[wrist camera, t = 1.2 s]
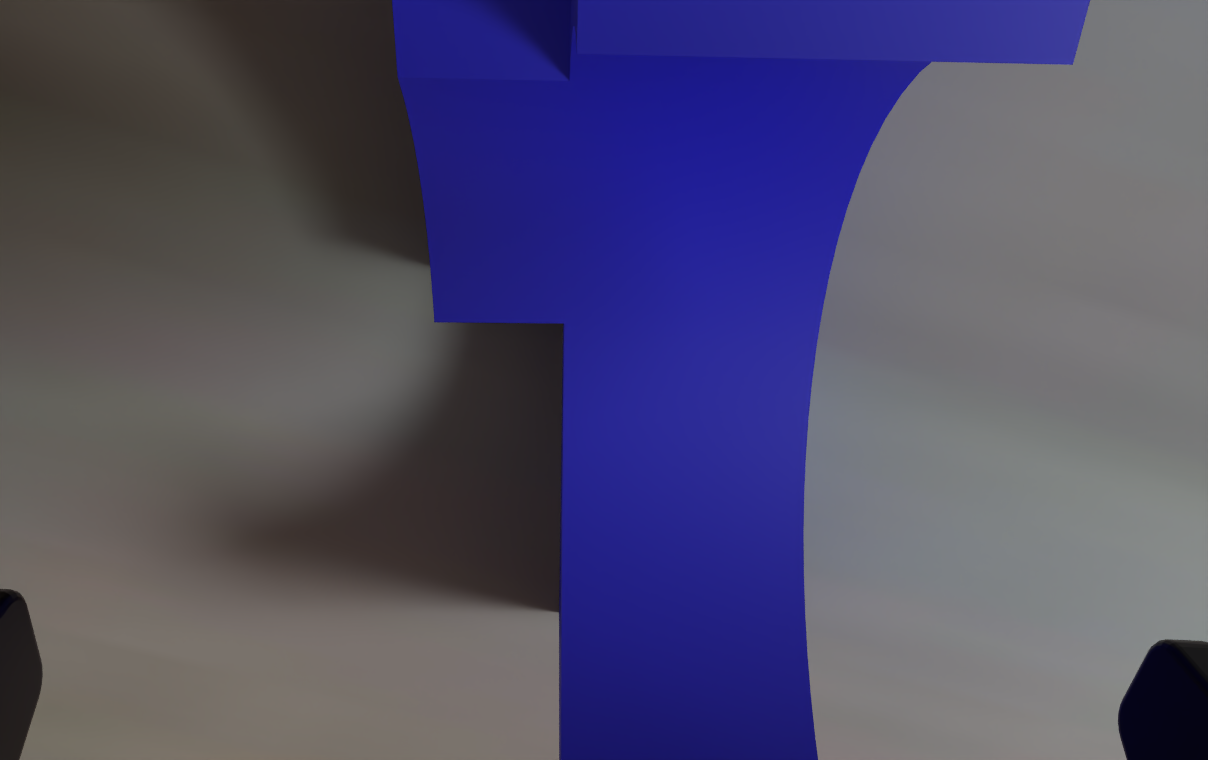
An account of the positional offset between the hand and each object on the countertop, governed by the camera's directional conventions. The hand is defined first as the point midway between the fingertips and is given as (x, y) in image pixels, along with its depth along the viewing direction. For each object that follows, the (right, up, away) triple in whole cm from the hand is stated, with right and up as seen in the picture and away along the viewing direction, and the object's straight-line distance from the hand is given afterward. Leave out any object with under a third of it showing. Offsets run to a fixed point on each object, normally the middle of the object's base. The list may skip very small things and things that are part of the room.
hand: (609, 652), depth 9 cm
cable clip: (0, +4, +5) cm, 7 cm away
